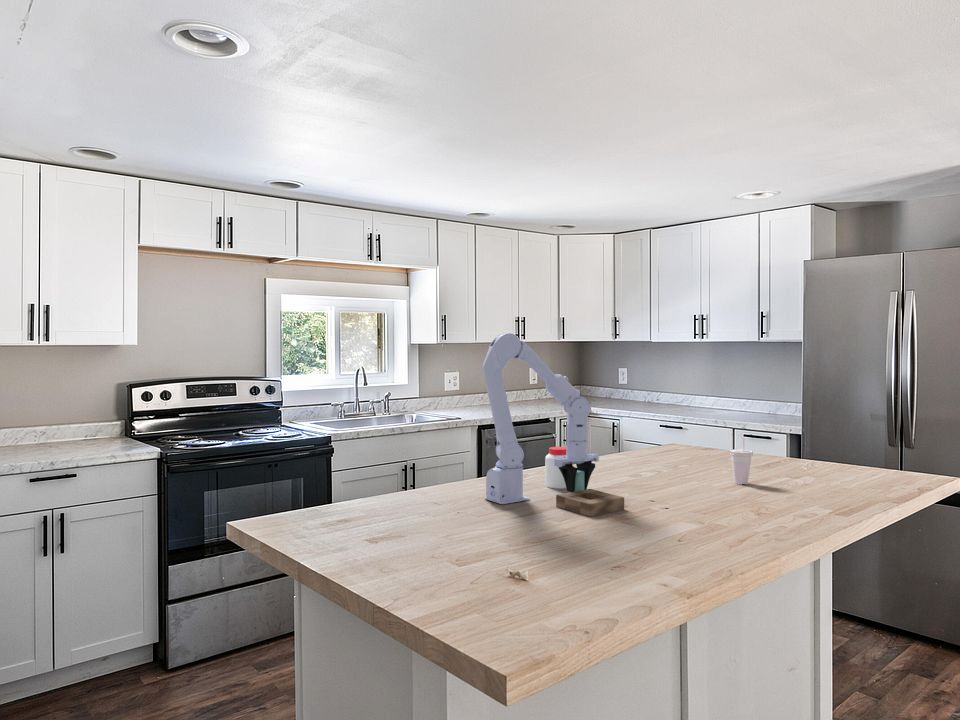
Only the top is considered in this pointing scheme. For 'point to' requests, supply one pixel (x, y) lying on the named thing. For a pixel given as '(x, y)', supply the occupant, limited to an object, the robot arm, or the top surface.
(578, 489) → the dowel
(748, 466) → the smoothie
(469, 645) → the top surface
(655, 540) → the top surface
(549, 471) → the pill bottle
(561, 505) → the socket block
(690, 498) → the top surface
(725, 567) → the top surface
